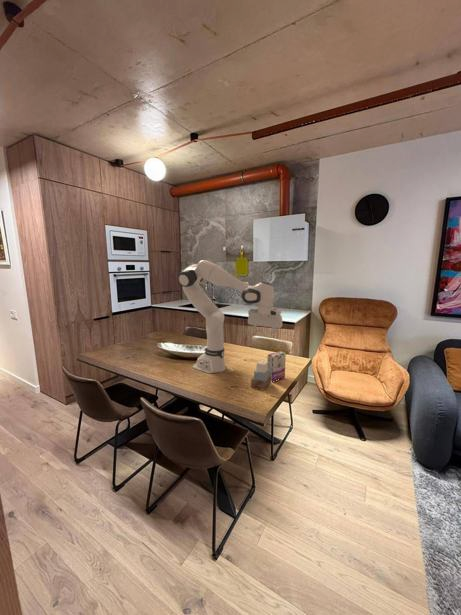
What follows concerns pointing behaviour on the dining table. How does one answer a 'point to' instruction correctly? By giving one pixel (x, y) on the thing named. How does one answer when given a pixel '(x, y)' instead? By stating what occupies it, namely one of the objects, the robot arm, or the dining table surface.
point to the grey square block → (261, 376)
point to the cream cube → (262, 366)
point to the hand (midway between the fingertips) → (264, 333)
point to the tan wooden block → (260, 383)
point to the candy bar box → (276, 365)
